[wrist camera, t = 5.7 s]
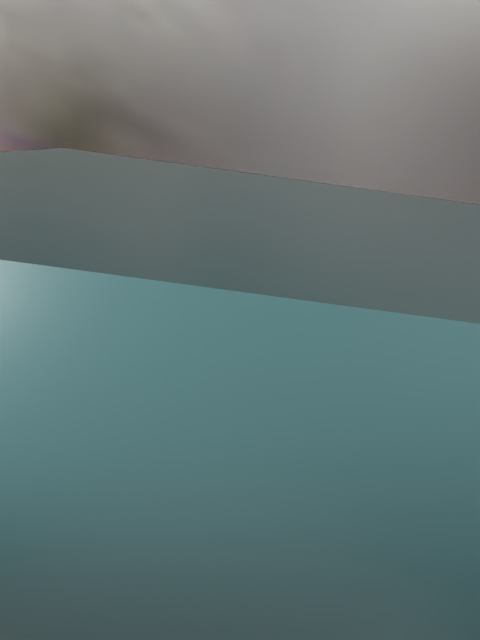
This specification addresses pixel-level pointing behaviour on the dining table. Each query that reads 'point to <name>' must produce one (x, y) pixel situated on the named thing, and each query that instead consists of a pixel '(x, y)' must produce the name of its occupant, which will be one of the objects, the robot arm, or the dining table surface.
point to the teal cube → (234, 406)
